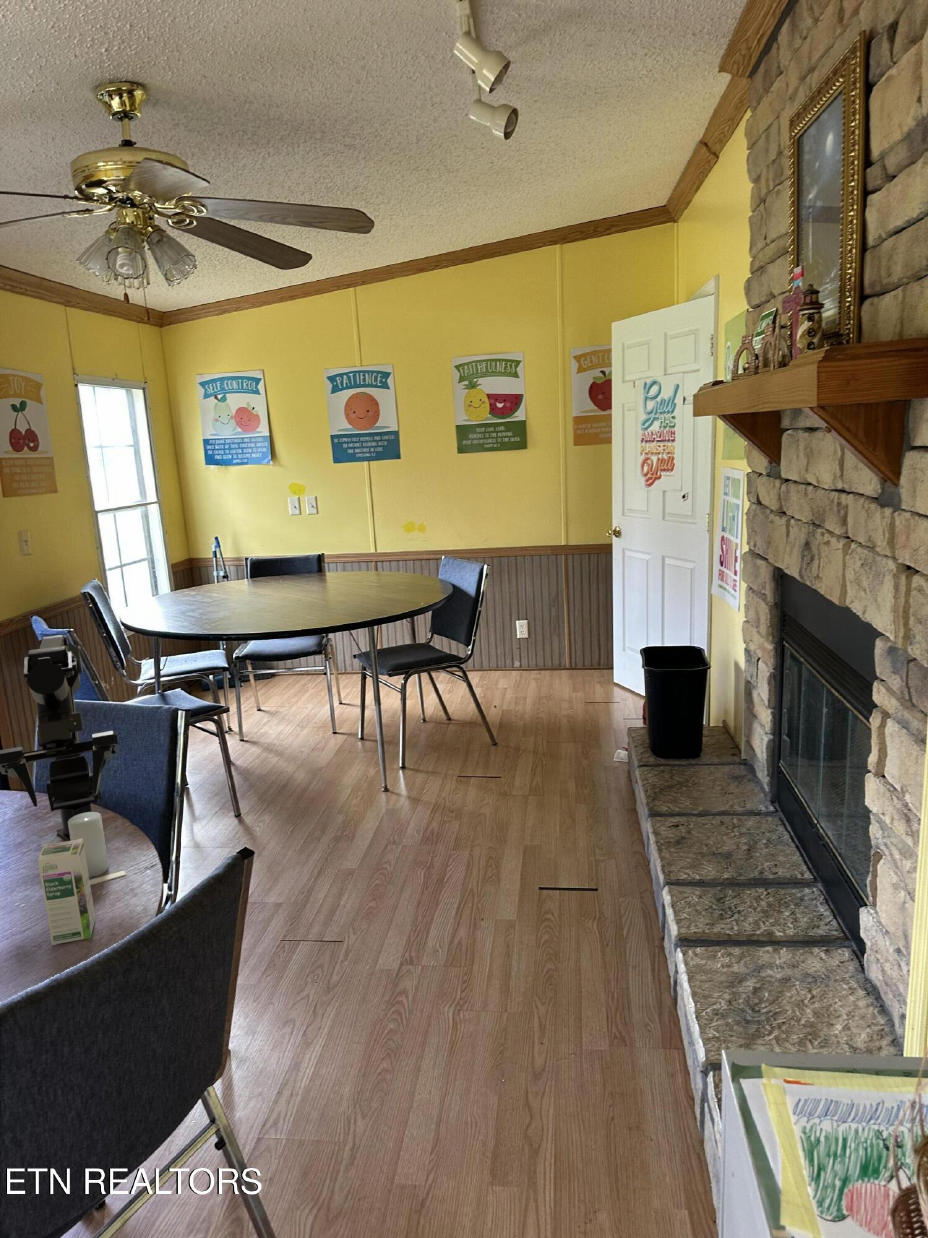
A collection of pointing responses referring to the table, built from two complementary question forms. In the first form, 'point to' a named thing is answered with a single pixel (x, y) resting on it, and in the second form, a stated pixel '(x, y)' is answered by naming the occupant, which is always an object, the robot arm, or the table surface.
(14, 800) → the table surface
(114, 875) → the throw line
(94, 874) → the grey-green rounded cylinder
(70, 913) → the syrup box
